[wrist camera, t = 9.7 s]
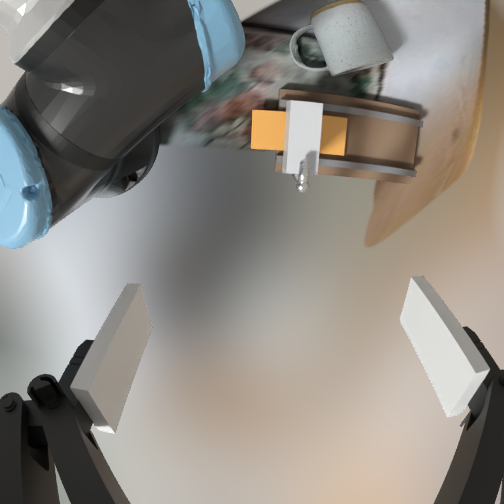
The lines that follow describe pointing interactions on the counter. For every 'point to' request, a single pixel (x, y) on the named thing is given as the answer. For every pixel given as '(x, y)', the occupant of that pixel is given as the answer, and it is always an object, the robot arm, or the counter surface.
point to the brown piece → (365, 137)
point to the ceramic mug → (345, 38)
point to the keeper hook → (301, 176)
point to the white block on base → (299, 134)
